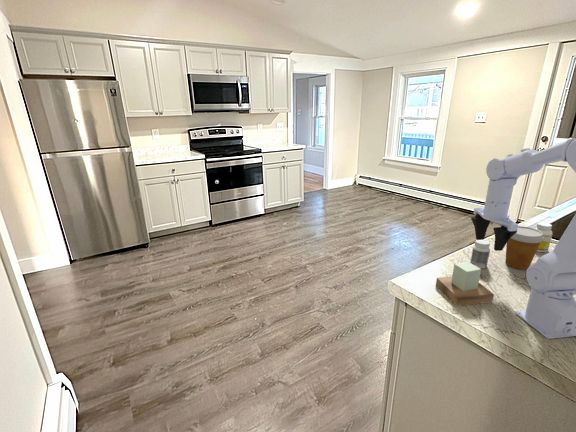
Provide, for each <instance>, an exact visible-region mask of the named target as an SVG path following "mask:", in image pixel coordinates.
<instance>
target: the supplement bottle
mask: <svg viewBox="0 0 576 432" xmlns="http://www.w3.org/2000/svg"><path fill="white" fill-rule="evenodd" d="M552 227H553V225H552V224H550V223H549V222H544V221H543V222H542V221H541V222H537V224H536V227H535V228H534V229H537V230H539V231H541V232H542V233H543V237H544V239H543V240H542V241H541V242H540V244H539V247H538V249H537V251H536V253H548V251H549V249H550V245H551V240H552V239H553V238H552V237H553V231H552Z"/></svg>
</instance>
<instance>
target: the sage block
mask: <svg viewBox="0 0 576 432" xmlns="http://www.w3.org/2000/svg"><path fill="white" fill-rule="evenodd" d="M481 272H482V268H478V267H477V266H475V265H473V264H471V263H470V261H462V262H458V263H457V262H456V263H454V265H453V271H452V275H451V276H452V281H451V283H453V284H454V285H455V286H457V287H458V288H460V289H461V290H462V291H467V290H472V289H477V288H478V283H480V277H481Z"/></svg>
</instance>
